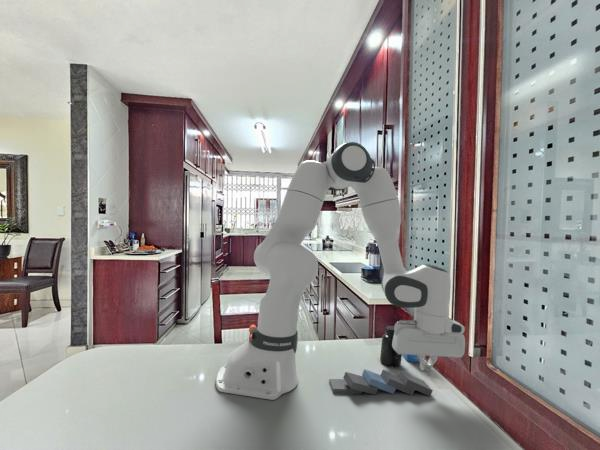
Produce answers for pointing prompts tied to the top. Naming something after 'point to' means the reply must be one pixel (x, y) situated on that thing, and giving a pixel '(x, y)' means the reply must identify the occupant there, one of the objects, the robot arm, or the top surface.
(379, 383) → the domino
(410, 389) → the domino
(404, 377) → the domino
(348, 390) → the domino
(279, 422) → the top surface
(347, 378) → the domino
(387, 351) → the supplement bottle
